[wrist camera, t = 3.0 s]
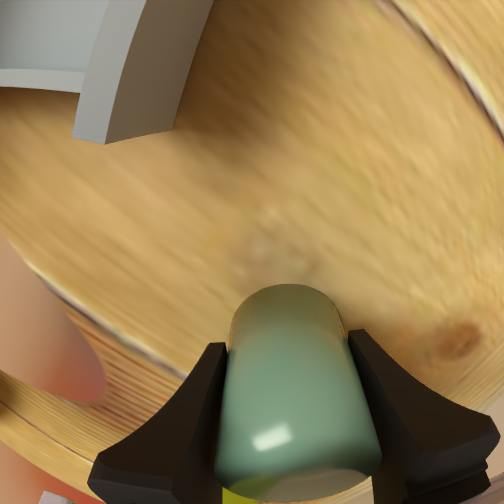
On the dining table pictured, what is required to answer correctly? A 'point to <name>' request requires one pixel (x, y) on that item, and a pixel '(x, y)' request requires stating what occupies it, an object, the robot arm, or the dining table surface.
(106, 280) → the dining table surface
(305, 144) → the dining table surface
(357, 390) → the sea green cylinder
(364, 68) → the dining table surface
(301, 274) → the dining table surface
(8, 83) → the drawer tray
